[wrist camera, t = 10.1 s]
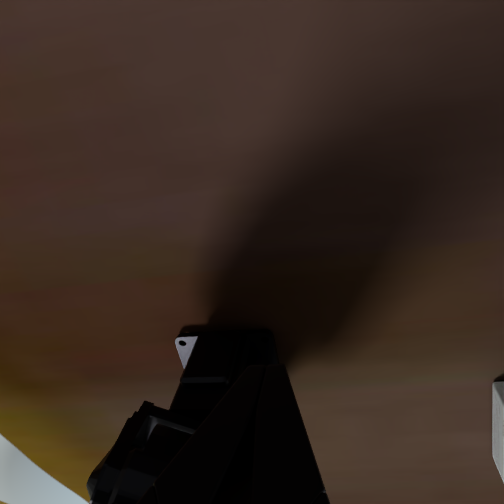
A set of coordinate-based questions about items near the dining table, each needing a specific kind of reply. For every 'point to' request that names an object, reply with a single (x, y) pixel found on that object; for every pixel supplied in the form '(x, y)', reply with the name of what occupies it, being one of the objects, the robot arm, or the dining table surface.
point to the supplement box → (498, 426)
